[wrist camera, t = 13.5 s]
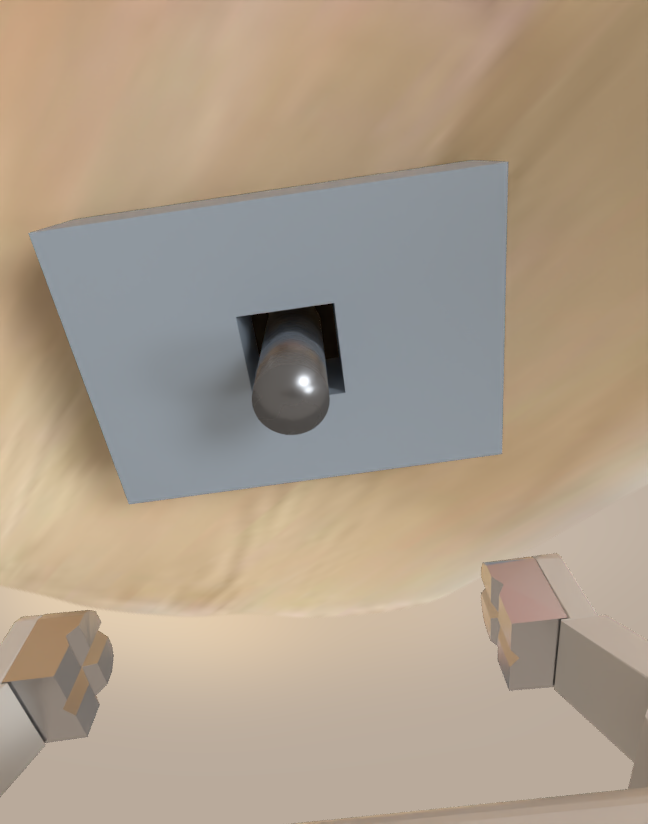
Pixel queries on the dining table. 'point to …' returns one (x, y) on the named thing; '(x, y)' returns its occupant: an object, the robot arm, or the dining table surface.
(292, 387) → the peg
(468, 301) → the hole block
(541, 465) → the dining table surface
